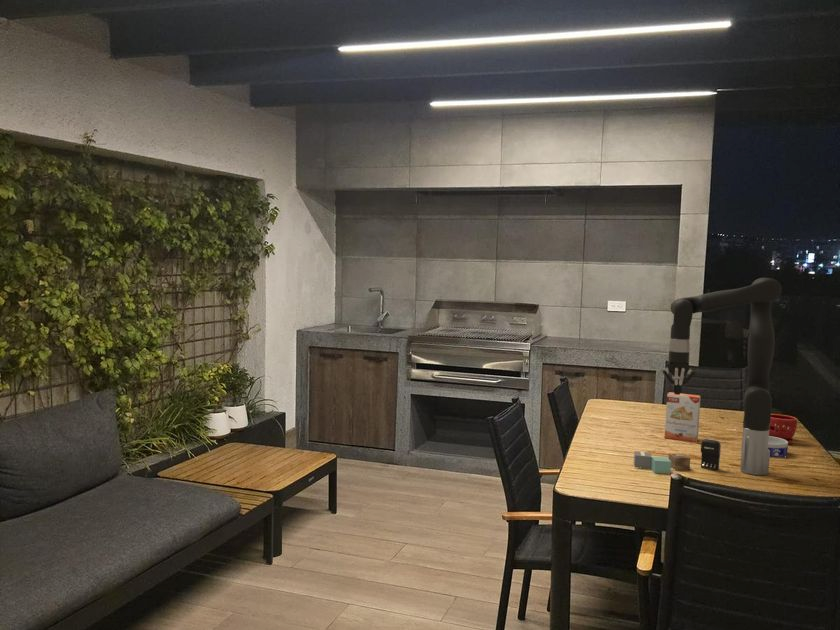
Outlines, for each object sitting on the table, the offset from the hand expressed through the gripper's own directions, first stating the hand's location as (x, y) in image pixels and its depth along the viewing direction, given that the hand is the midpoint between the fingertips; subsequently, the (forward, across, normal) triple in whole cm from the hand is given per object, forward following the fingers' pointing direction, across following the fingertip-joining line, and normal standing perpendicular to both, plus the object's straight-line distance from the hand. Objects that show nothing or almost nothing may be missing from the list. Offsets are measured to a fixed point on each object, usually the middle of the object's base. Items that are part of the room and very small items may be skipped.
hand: (676, 394), depth 276 cm
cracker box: (+29, -17, -47) cm, 58 cm away
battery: (+29, -14, 0) cm, 32 cm away
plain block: (+29, +7, +7) cm, 31 cm away
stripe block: (+29, +12, +1) cm, 32 cm away
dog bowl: (+29, -48, -29) cm, 63 cm away
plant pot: (+29, -62, -50) cm, 85 cm away
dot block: (+29, -2, +1) cm, 29 cm away
